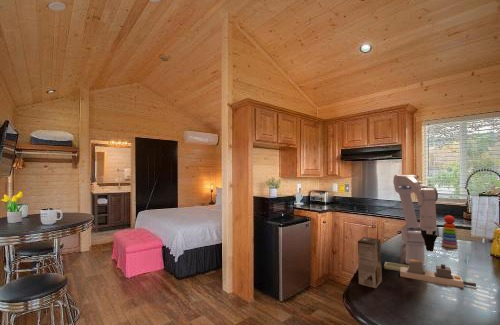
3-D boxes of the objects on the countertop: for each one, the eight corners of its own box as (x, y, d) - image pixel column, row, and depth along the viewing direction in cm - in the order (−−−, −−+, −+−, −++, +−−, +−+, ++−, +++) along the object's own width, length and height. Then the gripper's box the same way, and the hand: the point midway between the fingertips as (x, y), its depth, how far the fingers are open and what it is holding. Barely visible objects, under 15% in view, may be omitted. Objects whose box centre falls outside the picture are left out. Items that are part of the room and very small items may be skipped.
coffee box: (365, 277, 104) (364, 236, 106) (382, 281, 100) (381, 239, 102) (357, 284, 97) (357, 240, 99) (376, 288, 93) (375, 243, 95)
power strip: (400, 272, 110) (400, 265, 111) (474, 284, 98) (473, 276, 98) (400, 277, 105) (400, 269, 105) (478, 291, 92) (477, 282, 92)
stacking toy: (446, 248, 153) (444, 216, 154) (438, 244, 161) (437, 214, 162) (461, 248, 151) (459, 216, 153) (452, 245, 159) (451, 214, 161)
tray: (385, 264, 121) (385, 261, 121) (410, 268, 115) (410, 265, 115) (383, 269, 114) (383, 266, 114) (410, 273, 109) (410, 270, 109)
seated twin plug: (436, 278, 103) (435, 262, 103) (450, 280, 101) (449, 264, 101) (437, 281, 99) (436, 265, 100) (451, 284, 97) (450, 267, 97)
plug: (409, 273, 108) (408, 258, 108) (421, 275, 106) (421, 260, 106) (409, 277, 104) (408, 261, 104) (422, 279, 102) (421, 262, 102)
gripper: (416, 214, 119) (417, 244, 117) (416, 217, 106) (418, 251, 105) (435, 215, 115) (436, 246, 114) (438, 218, 103) (439, 253, 101)
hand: (429, 249), depth 109 cm, fingers open, 7 cm apart
